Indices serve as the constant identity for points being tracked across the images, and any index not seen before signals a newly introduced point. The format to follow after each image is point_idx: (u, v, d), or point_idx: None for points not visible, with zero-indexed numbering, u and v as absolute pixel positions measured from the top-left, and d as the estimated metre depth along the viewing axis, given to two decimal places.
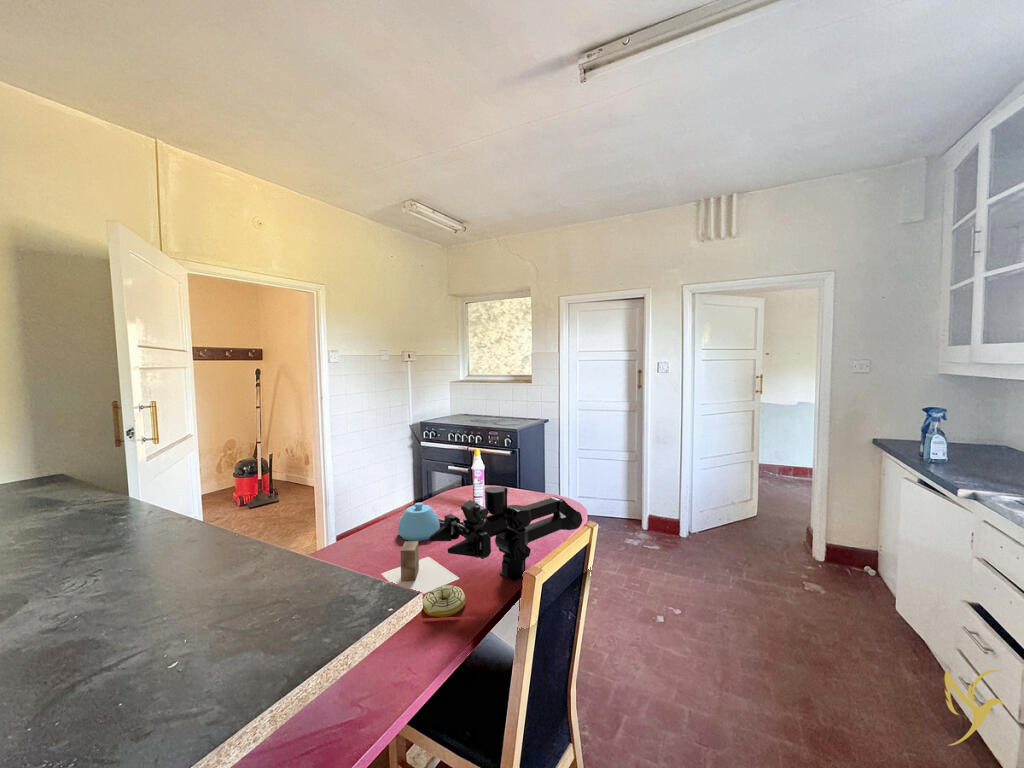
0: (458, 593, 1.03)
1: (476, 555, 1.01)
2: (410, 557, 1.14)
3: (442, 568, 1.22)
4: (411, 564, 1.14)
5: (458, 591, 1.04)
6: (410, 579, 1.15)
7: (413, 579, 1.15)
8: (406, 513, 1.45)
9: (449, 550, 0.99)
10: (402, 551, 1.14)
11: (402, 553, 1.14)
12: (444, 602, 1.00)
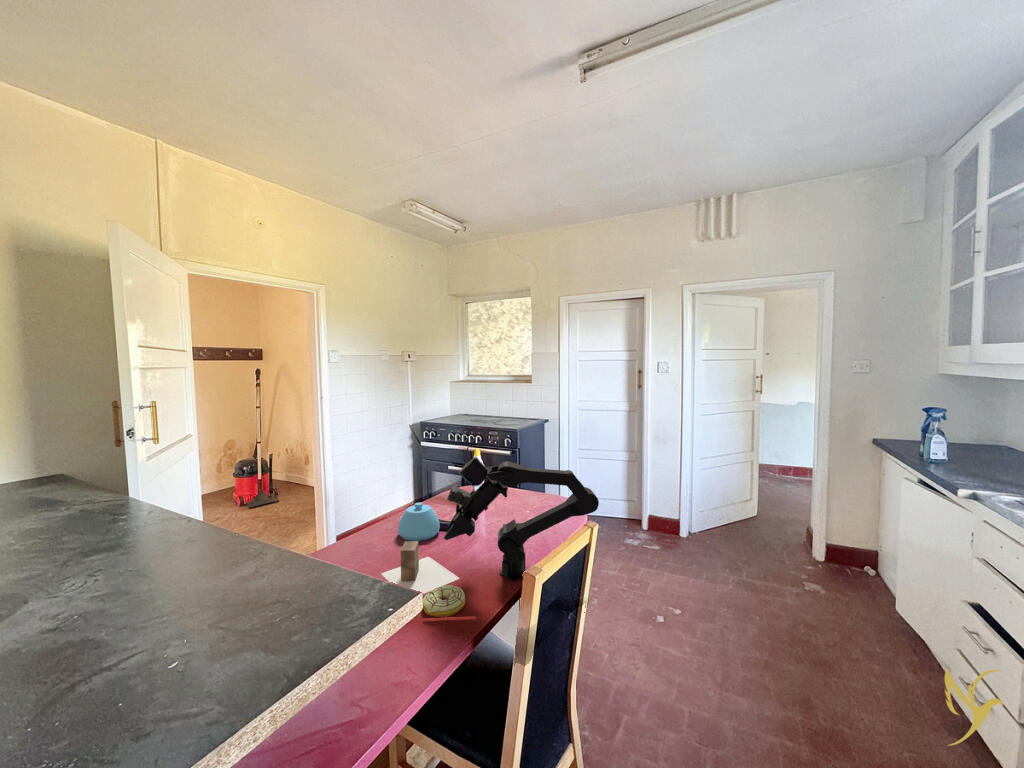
0: (458, 593, 1.03)
1: None
2: (410, 557, 1.14)
3: (442, 568, 1.22)
4: (411, 564, 1.14)
5: (458, 591, 1.04)
6: (410, 579, 1.15)
7: (413, 579, 1.15)
8: (406, 513, 1.45)
9: (446, 538, 1.15)
10: (402, 551, 1.14)
11: (402, 553, 1.14)
12: (444, 602, 1.00)
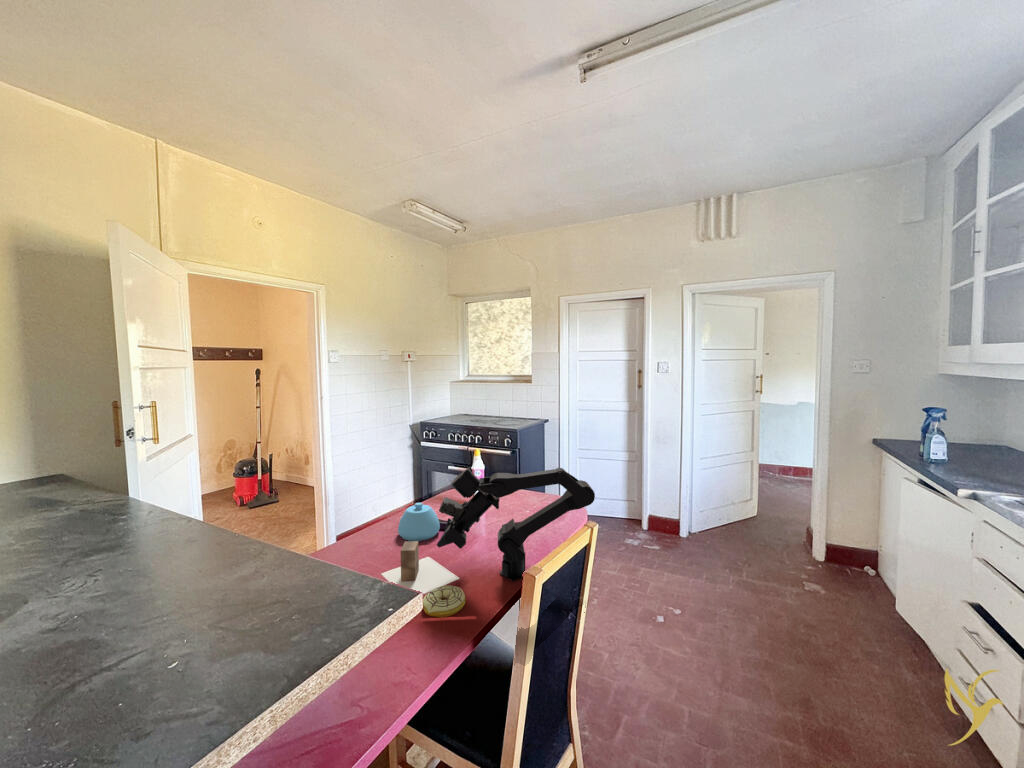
0: (458, 593, 1.03)
1: None
2: (410, 557, 1.14)
3: (442, 568, 1.22)
4: (411, 564, 1.14)
5: (458, 591, 1.04)
6: (410, 579, 1.15)
7: (413, 579, 1.15)
8: (406, 513, 1.45)
9: (438, 545, 1.17)
10: (402, 551, 1.14)
11: (402, 553, 1.14)
12: (444, 602, 1.00)
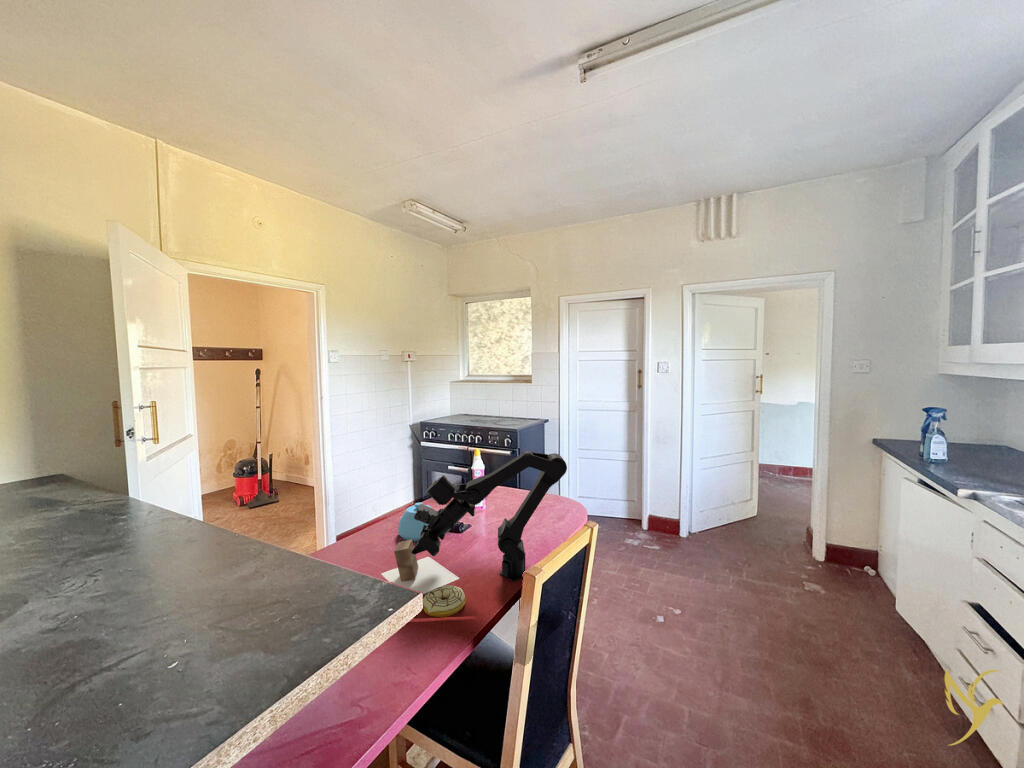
0: (458, 593, 1.03)
1: None
2: (404, 556, 1.14)
3: (442, 568, 1.22)
4: (408, 562, 1.14)
5: (458, 591, 1.04)
6: (409, 577, 1.15)
7: (412, 577, 1.15)
8: (406, 513, 1.45)
9: (413, 552, 1.17)
10: (396, 551, 1.14)
11: (396, 553, 1.14)
12: (444, 602, 1.00)
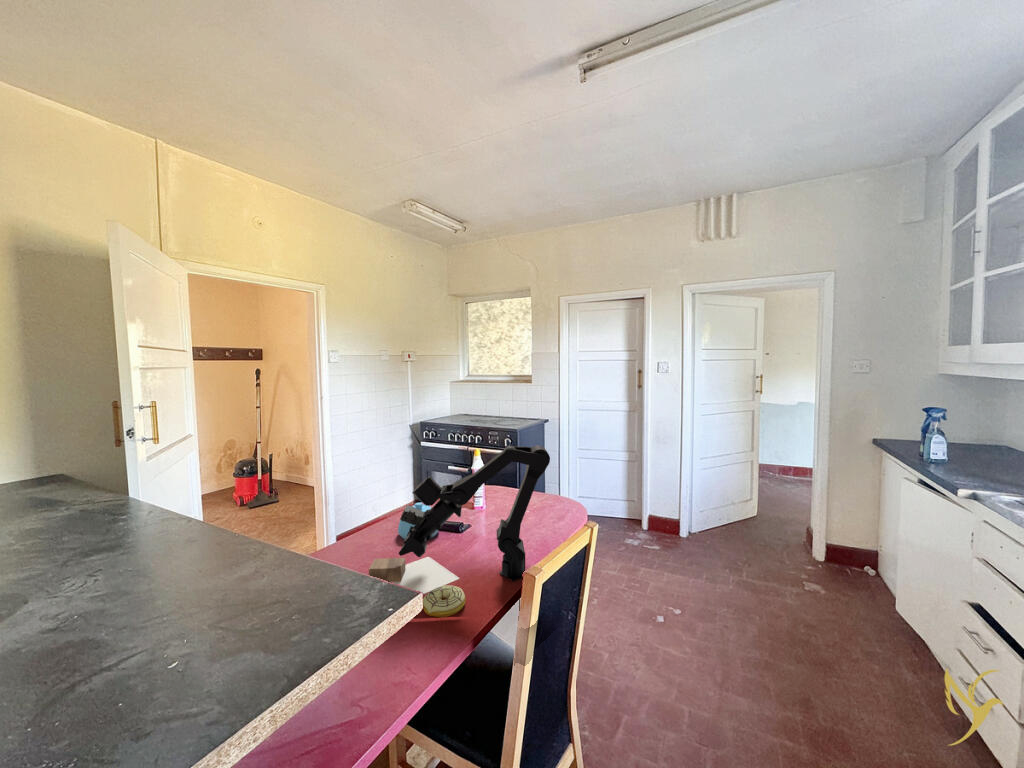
0: (458, 593, 1.03)
1: None
2: (376, 573, 1.14)
3: (442, 568, 1.22)
4: (383, 571, 1.14)
5: (458, 591, 1.04)
6: (399, 572, 1.14)
7: (399, 569, 1.14)
8: None
9: (400, 553, 1.17)
10: None
11: None
12: (444, 602, 1.00)
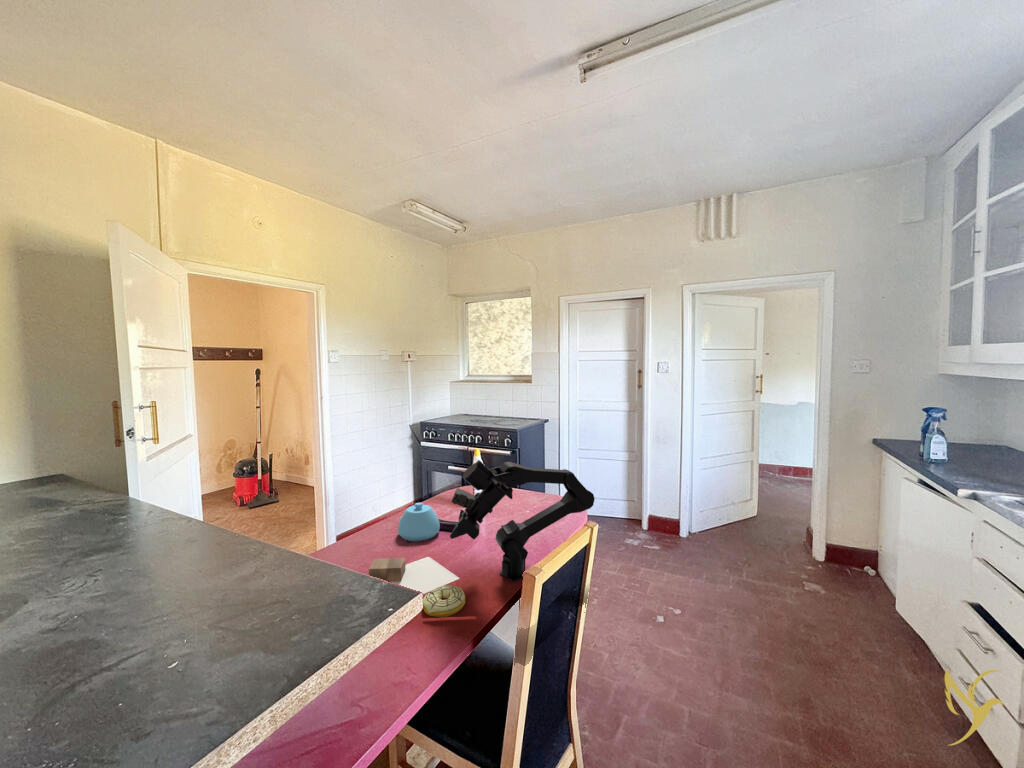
0: (458, 593, 1.03)
1: None
2: (376, 573, 1.14)
3: (442, 568, 1.22)
4: (383, 571, 1.14)
5: (458, 591, 1.04)
6: (399, 572, 1.14)
7: (399, 569, 1.14)
8: (406, 513, 1.45)
9: (452, 536, 1.16)
10: None
11: None
12: (444, 602, 1.00)
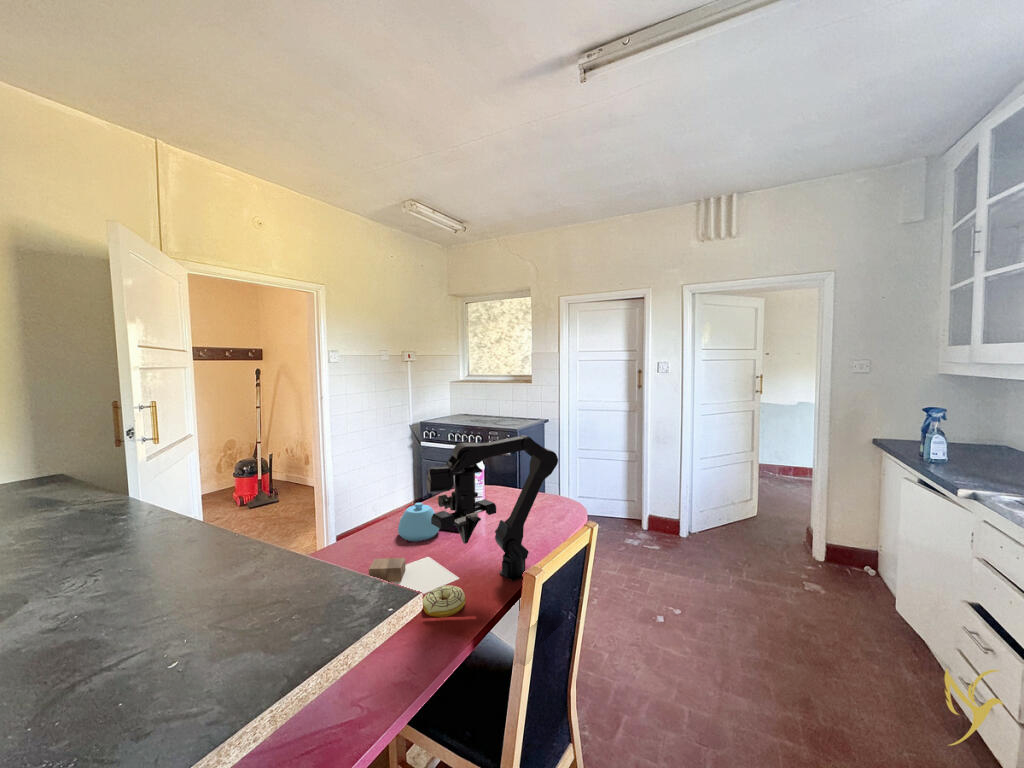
0: (458, 593, 1.03)
1: None
2: (376, 573, 1.14)
3: (442, 568, 1.22)
4: (383, 571, 1.14)
5: (458, 591, 1.04)
6: (399, 572, 1.14)
7: (399, 569, 1.14)
8: (406, 513, 1.45)
9: (464, 541, 1.13)
10: None
11: None
12: (444, 602, 1.00)
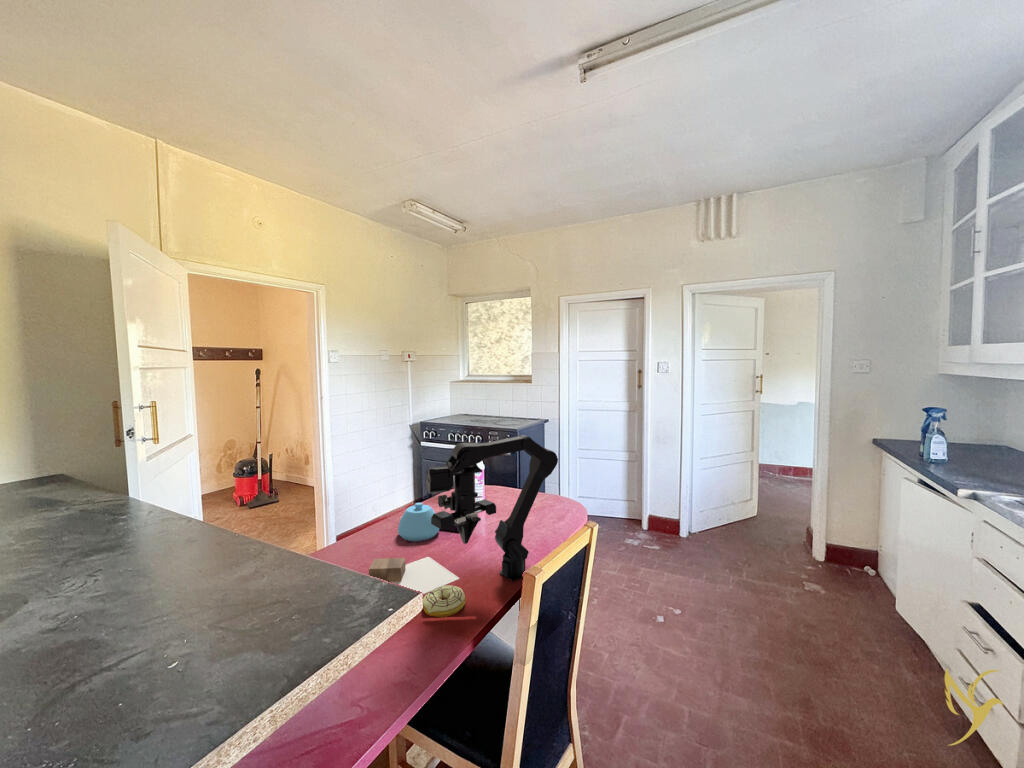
0: (458, 593, 1.03)
1: None
2: (376, 573, 1.14)
3: (442, 568, 1.22)
4: (383, 571, 1.14)
5: (458, 591, 1.04)
6: (399, 572, 1.14)
7: (399, 569, 1.14)
8: (406, 513, 1.45)
9: (464, 542, 1.13)
10: None
11: None
12: (444, 602, 1.00)
